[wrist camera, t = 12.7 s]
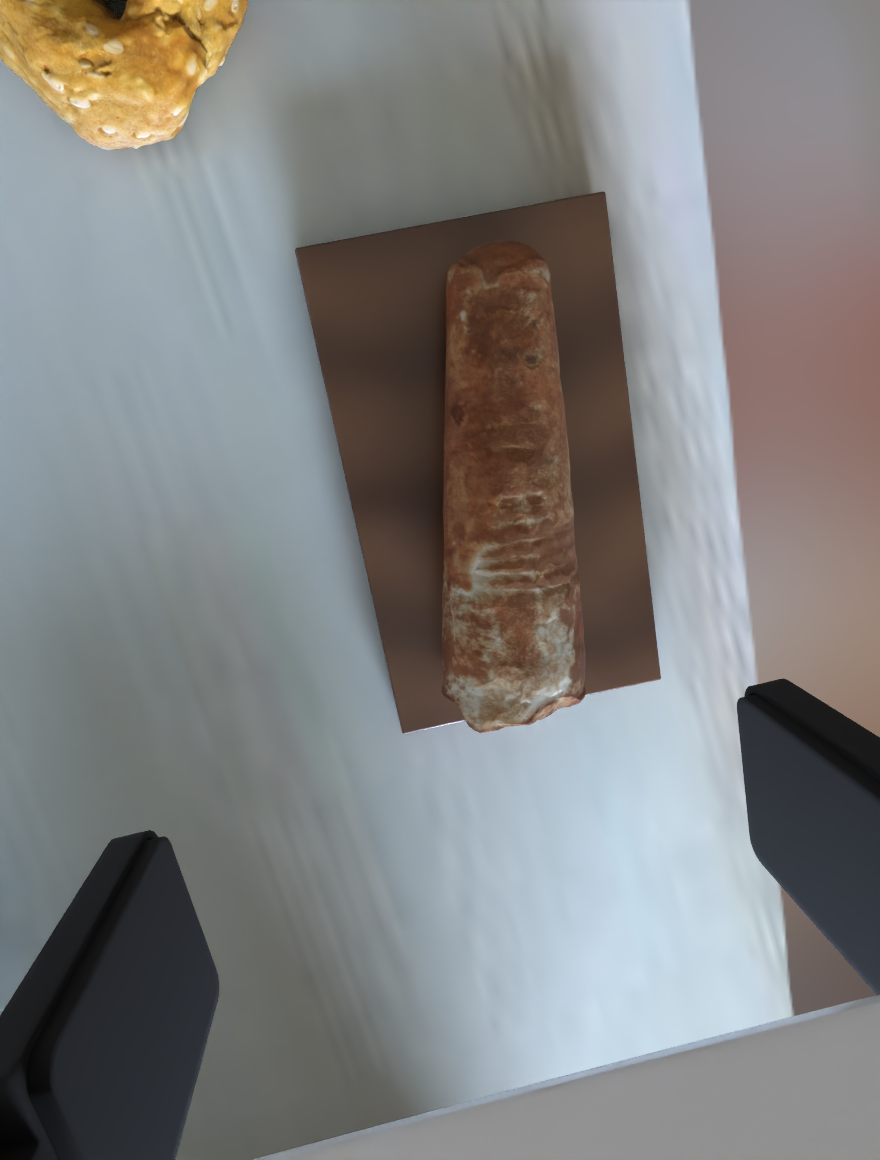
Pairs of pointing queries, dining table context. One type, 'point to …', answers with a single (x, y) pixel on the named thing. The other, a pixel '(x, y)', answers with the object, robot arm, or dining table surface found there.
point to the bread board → (417, 424)
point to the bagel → (118, 61)
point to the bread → (507, 497)
